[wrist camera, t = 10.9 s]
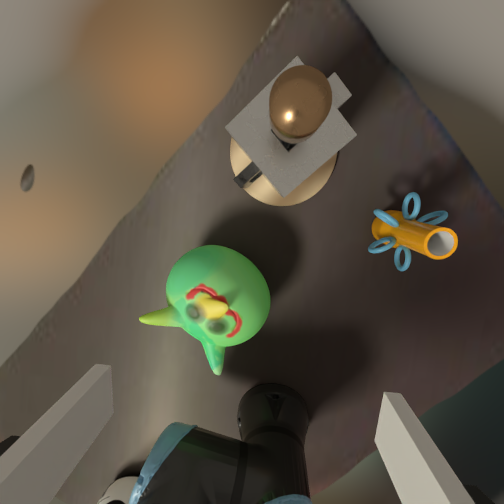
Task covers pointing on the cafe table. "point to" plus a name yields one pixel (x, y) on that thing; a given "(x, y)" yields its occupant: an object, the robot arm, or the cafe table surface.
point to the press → (274, 153)
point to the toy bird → (214, 300)
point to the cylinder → (412, 233)
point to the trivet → (267, 193)
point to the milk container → (119, 491)
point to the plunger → (298, 104)
